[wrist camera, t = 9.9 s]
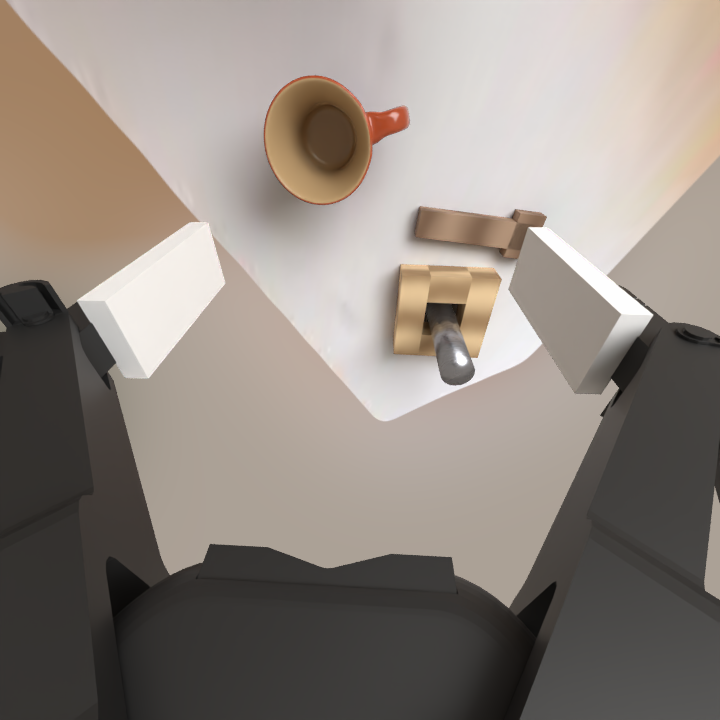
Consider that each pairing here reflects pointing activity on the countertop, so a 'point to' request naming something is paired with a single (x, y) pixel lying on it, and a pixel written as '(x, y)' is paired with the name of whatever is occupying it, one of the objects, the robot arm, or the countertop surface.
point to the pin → (449, 344)
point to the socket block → (443, 285)
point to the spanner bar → (478, 228)
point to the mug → (324, 138)
